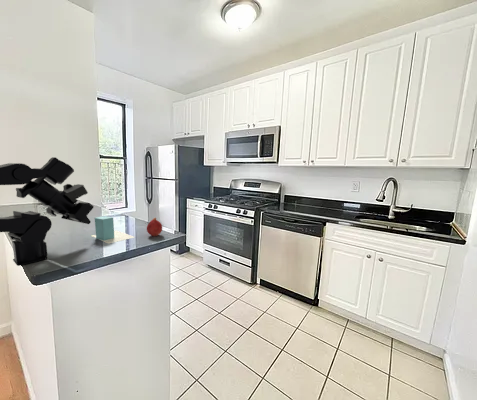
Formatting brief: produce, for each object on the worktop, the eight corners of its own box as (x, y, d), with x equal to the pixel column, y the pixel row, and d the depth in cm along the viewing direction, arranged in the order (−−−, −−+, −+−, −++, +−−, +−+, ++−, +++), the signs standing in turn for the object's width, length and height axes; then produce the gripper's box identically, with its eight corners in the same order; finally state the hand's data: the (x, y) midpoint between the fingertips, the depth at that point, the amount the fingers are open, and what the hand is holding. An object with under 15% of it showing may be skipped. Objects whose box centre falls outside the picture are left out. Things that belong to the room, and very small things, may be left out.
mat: (108, 245, 80) (108, 243, 80) (90, 237, 88) (90, 235, 88) (135, 238, 88) (135, 237, 88) (116, 231, 96) (116, 230, 96)
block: (104, 240, 83) (102, 219, 82) (96, 238, 85) (94, 217, 84) (114, 237, 86) (113, 217, 85) (106, 235, 89) (105, 216, 88)
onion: (146, 239, 87) (145, 219, 85) (148, 235, 92) (147, 216, 91) (162, 238, 88) (161, 218, 87) (162, 234, 94) (162, 215, 92)
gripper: (84, 177, 69) (119, 207, 80) (53, 175, 77) (89, 203, 89) (57, 206, 63) (99, 234, 74) (26, 201, 71) (69, 226, 83)
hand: (89, 222), depth 80 cm, fingers closed
